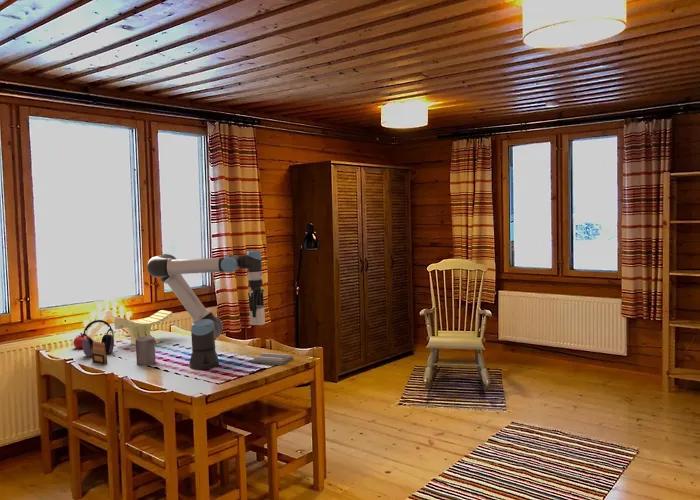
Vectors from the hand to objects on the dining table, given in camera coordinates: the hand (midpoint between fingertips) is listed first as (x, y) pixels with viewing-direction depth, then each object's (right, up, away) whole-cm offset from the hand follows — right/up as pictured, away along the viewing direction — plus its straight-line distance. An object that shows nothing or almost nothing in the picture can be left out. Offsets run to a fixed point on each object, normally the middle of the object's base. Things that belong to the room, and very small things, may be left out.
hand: (257, 322), depth 315 cm
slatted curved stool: (-78, -19, +48) cm, 93 cm away
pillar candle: (-59, -22, -3) cm, 63 cm away
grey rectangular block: (0, -1, 0) cm, 1 cm away
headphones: (-95, -21, +20) cm, 99 cm away
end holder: (+8, -20, -5) cm, 22 cm away
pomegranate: (-112, -21, +38) cm, 120 cm away
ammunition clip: (-86, -23, +1) cm, 89 cm away
